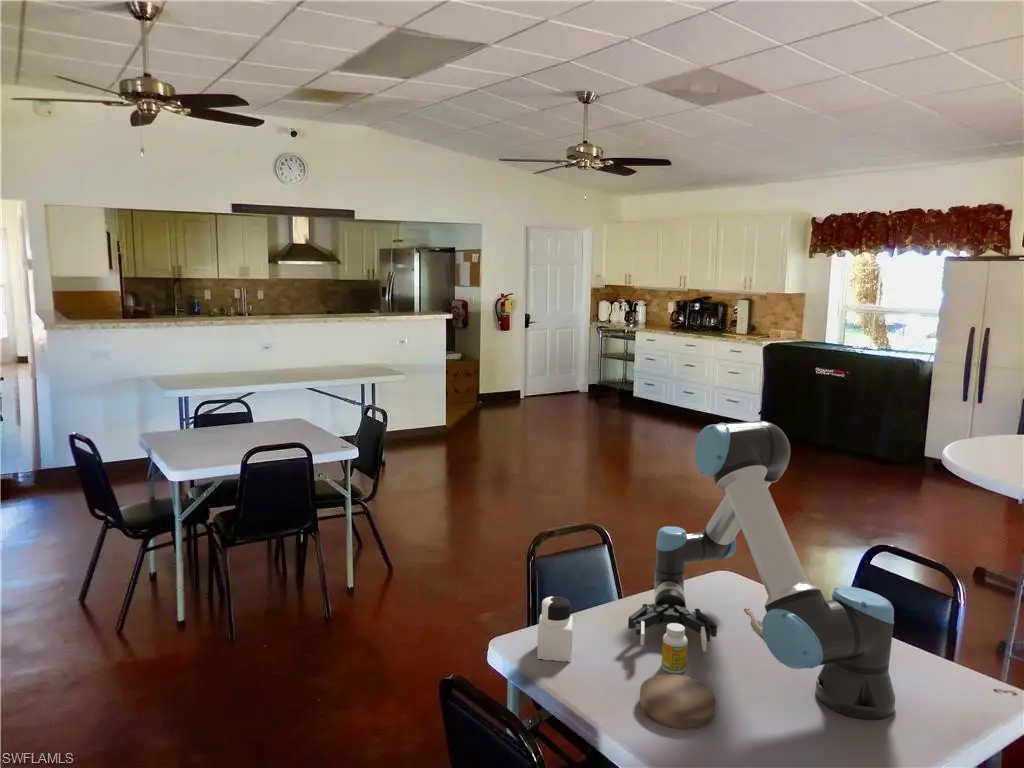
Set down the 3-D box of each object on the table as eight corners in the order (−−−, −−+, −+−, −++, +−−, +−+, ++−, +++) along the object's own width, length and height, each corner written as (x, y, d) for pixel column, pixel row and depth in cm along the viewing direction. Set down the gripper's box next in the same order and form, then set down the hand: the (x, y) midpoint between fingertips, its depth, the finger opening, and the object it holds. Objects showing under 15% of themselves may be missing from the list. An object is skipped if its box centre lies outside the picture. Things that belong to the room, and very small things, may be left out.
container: (572, 646, 180) (573, 593, 179) (571, 662, 173) (573, 608, 171) (539, 643, 181) (540, 591, 179) (537, 660, 174) (538, 606, 172)
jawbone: (780, 655, 180) (780, 647, 180) (720, 620, 198) (719, 613, 198) (807, 644, 184) (807, 636, 184) (746, 611, 202) (746, 604, 202)
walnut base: (730, 713, 154) (731, 699, 154) (679, 738, 145) (680, 723, 145) (674, 680, 166) (675, 667, 166) (624, 701, 157) (624, 688, 157)
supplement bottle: (670, 676, 168) (672, 634, 166) (656, 664, 173) (658, 623, 171) (690, 671, 170) (693, 630, 169) (676, 659, 175) (678, 619, 173)
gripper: (720, 621, 190) (730, 664, 169) (619, 612, 194) (616, 652, 173) (722, 592, 189) (732, 632, 168) (620, 584, 193) (617, 621, 172)
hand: (673, 642), depth 171 cm, fingers open, 13 cm apart
